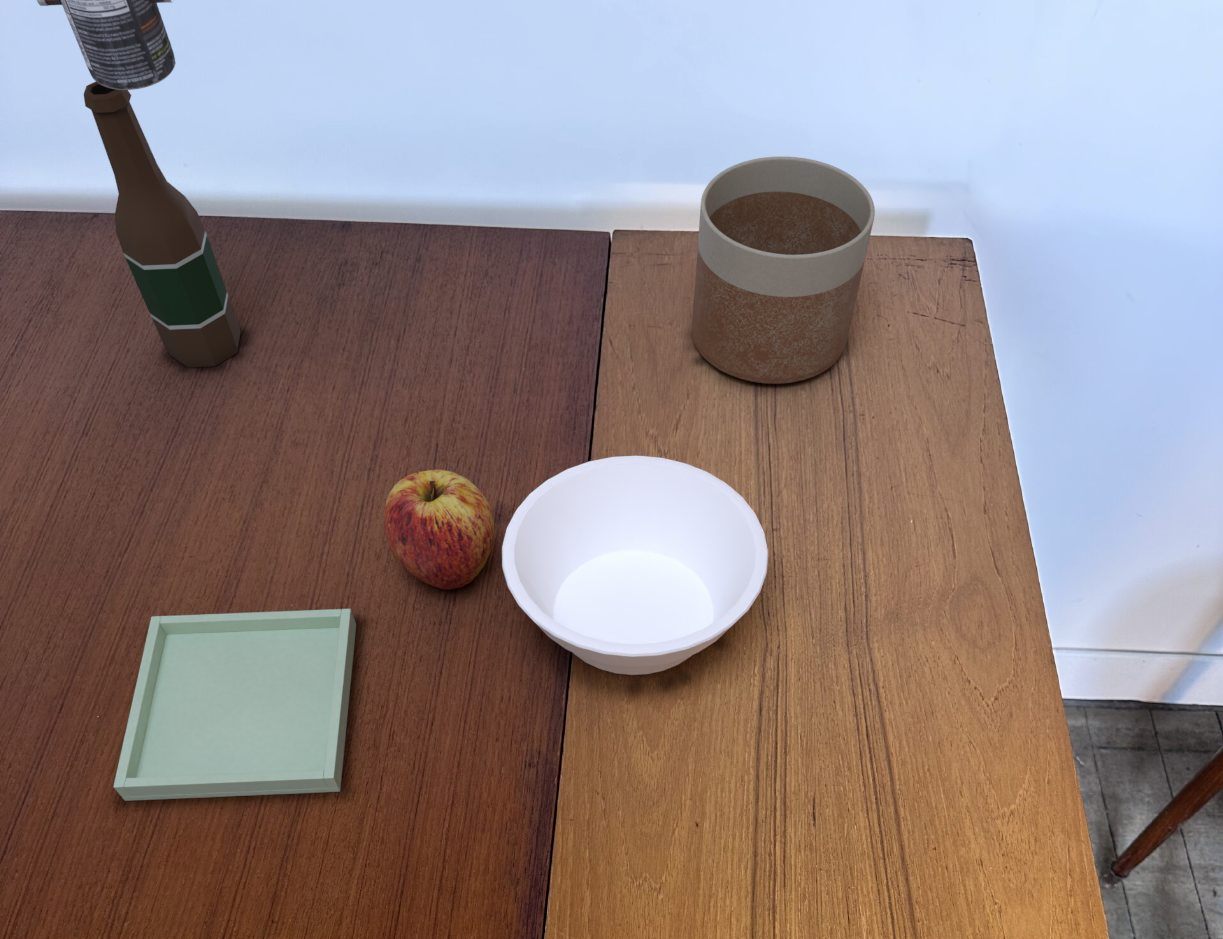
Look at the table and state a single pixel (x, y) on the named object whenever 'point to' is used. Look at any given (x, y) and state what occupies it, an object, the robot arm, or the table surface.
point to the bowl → (634, 561)
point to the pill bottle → (121, 41)
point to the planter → (779, 267)
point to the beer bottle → (164, 242)
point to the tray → (239, 706)
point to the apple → (439, 527)
